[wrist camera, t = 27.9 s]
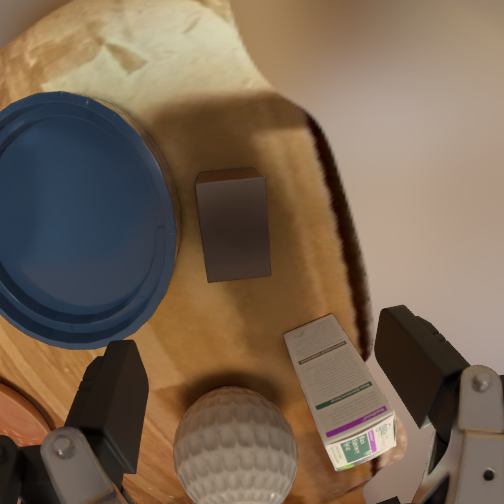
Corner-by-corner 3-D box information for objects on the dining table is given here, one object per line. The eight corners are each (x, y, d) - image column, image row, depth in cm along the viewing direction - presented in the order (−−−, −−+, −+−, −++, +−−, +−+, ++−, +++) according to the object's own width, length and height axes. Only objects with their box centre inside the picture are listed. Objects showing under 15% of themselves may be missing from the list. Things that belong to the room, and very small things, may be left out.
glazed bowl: (-34, 134, 20) (-58, 138, 16) (167, 71, 21) (158, 60, 18) (16, 328, 28) (0, 347, 24) (198, 319, 30) (196, 344, 26)
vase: (278, 428, 38) (304, 534, 22) (183, 433, 36) (183, 542, 21) (287, 361, 33) (329, 493, 18) (169, 366, 32) (156, 505, 16)
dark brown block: (199, 172, 25) (194, 183, 19) (254, 166, 25) (265, 176, 20) (208, 252, 27) (207, 283, 22) (259, 246, 28) (271, 276, 22)
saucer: (0, 428, 35) (-5, 440, 32) (-39, 363, 29) (-47, 374, 26) (70, 448, 37) (66, 462, 34) (34, 382, 31) (26, 397, 28)
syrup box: (280, 333, 31) (319, 449, 18) (333, 310, 31) (397, 414, 18) (296, 368, 34) (333, 475, 20) (344, 348, 33) (399, 446, 20)
